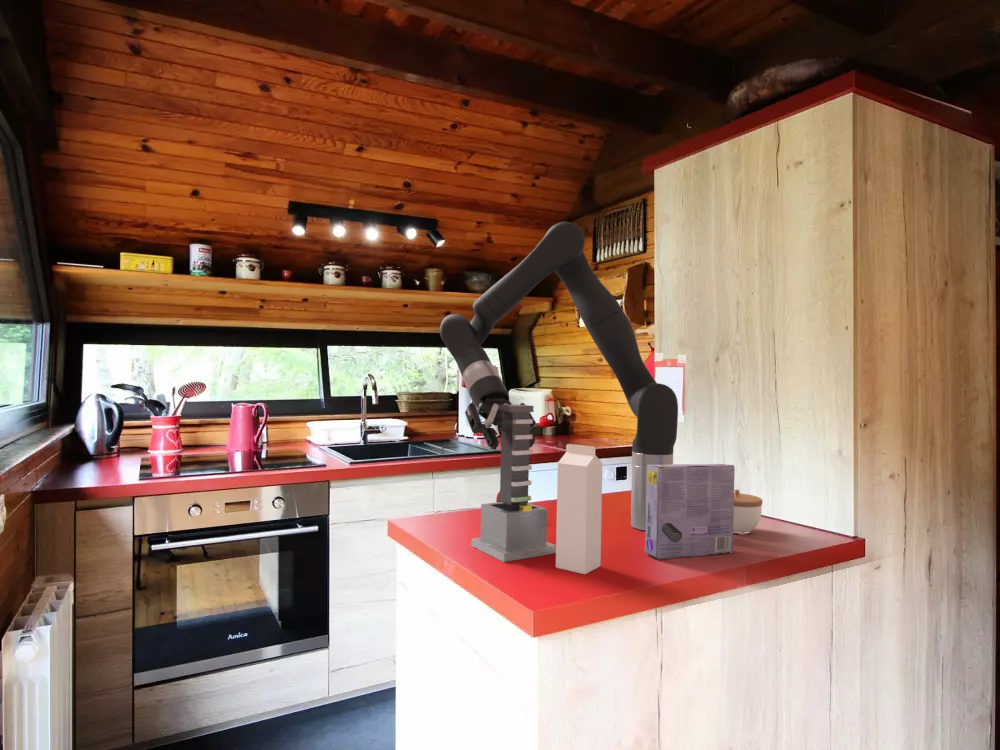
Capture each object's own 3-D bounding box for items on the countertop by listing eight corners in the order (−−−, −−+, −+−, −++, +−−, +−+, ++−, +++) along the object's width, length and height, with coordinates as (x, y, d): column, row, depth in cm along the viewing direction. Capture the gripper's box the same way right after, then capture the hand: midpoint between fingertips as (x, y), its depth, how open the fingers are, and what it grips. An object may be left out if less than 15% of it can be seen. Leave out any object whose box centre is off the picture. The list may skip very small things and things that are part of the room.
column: (517, 499, 123) (519, 404, 123) (532, 504, 118) (535, 406, 118) (496, 501, 120) (498, 404, 120) (511, 506, 115) (513, 406, 116)
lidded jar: (763, 529, 140) (764, 488, 140) (759, 539, 131) (760, 496, 131) (714, 523, 145) (715, 483, 145) (707, 533, 136) (708, 491, 136)
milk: (571, 560, 113) (574, 442, 114) (601, 566, 110) (603, 445, 110) (554, 568, 108) (557, 444, 109) (584, 575, 105) (587, 447, 105)
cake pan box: (721, 546, 125) (723, 460, 125) (739, 553, 120) (741, 464, 120) (642, 554, 118) (644, 463, 118) (657, 561, 114) (659, 467, 114)
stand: (520, 538, 128) (521, 493, 128) (555, 553, 117) (556, 504, 118) (471, 545, 121) (472, 498, 121) (503, 562, 111) (504, 510, 111)
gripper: (462, 373, 123) (490, 435, 113) (519, 374, 131) (551, 432, 121) (449, 398, 128) (475, 459, 118) (505, 398, 135) (535, 455, 126)
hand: (514, 445), depth 120 cm, fingers open, 8 cm apart
